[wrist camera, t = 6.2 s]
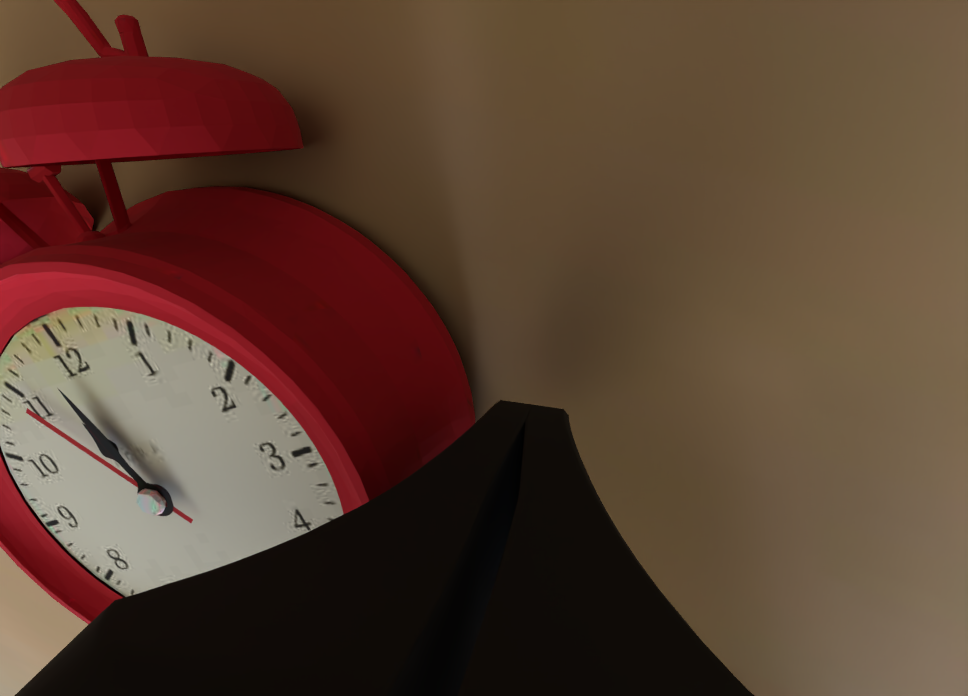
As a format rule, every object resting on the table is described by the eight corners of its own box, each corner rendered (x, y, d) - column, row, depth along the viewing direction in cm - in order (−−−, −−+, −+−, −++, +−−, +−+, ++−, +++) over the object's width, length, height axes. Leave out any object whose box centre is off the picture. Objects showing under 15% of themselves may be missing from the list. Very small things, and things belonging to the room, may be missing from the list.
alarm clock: (171, 729, 13) (-799, 209, 6) (279, 521, 18) (-160, 108, 11) (549, 706, 9) (-727, -724, 2) (550, 456, 14) (169, -221, 7)
